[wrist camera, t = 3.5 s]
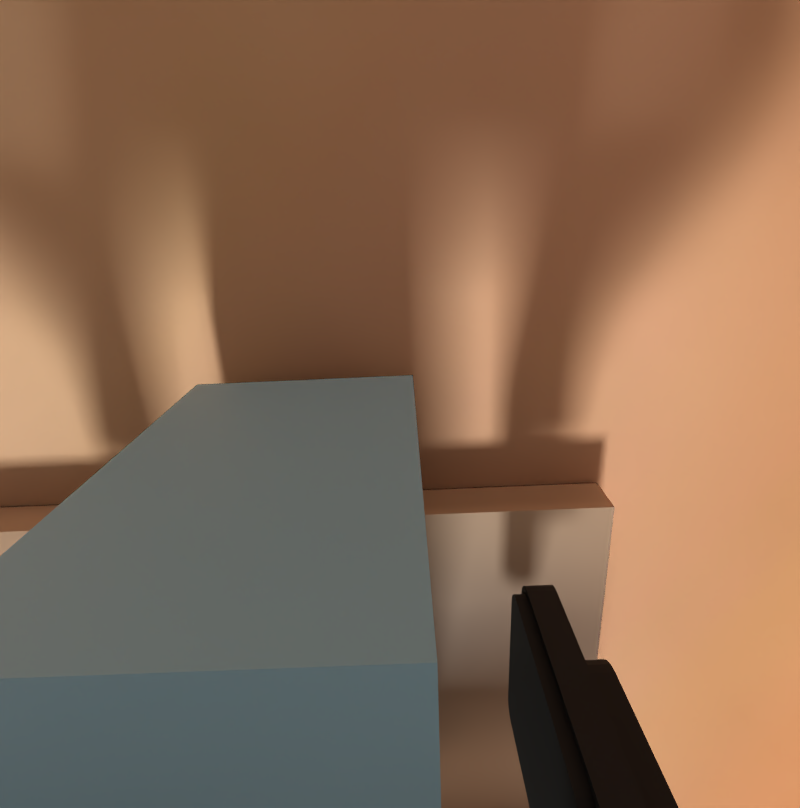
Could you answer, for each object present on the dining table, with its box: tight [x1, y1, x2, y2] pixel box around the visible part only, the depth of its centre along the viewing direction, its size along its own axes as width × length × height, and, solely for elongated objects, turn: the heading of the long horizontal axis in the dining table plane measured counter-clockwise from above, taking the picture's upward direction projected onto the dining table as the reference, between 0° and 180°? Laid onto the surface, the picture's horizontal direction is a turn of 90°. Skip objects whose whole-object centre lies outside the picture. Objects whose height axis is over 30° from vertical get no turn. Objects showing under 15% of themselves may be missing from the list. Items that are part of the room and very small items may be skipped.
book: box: [0, 375, 441, 808], centre depth 8 cm, size 10×4×6 cm, turn 3°
